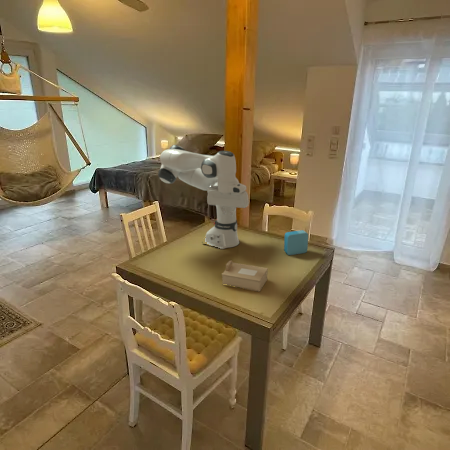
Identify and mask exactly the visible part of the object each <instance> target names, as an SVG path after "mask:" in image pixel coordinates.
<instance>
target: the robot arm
mask: <svg viewBox="0 0 450 450" xmlns="http://www.w3.org/2000/svg"><path fill="white" fill-rule="evenodd" d="M159 161H160V163H161V165H160V168H159V170H158V173H157V176H158V179H160V180H161V182H163V183H165V184H174V183H175V182H176V180H177V178H178V179H179V180H180V181H182V182H183V183H186V184H187V185H189V186H192V187H194V188H197V189H199V190H202V191H207V198H206V200H207V201H206V202H207V204H208V205H209V206H215V207H216V219H215V221H214V222H213V225H214V226H212V227H211V228H210V229H209V230H207V232H206V233H205V237H206V238H205V237H204V238H205V242H207V244H209V245H211V246H215V247H218V248H217V249H219V248H220V249H219V250H224V249H227V248H234V247H237V246H238V245H239V244H240V240H239V234H238V220H237V208H239V209H241V208H243V209H245V208H248V207H249V205H250V200H249V195H248V192H247V191H246V190H247V186H246V185H245V184H243V183H240V181H239V179H238V178H237V177H236V176H237V175H236V173H237V164H236V163H237V162H236V157H235V154H234V153H233V152H231V151H228V150H219V151H218V152H217V153H216V154H214V155H211V154H201V153H197V152H191V151H187V150H185V149H184V147H182V146H180V145H178V144H177V145H176V144H173V145H171V146H170V147H169V148H168V149H165V150H163V151H162V152H161V154H160V156H159ZM211 246H210V247H211ZM215 247H214V248H215Z"/></svg>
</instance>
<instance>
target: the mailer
mask: <svg viewBox="0 0 450 450" xmlns="http://www.w3.org/2000/svg"><path fill="white" fill-rule="evenodd" d="M221 277H222V279H221V280H222V285H223V284H227V285H231V286H235V287H234V288H237V287H240V288H239V289H242V288H244V289H243V290H247V289H248V291H254V292H258V293H260V292H261V290H262V289H263V287H264V285H265V284H266V282H267V281H268V270H267V271H266V273H265V275H264V276H263V278H262V279H261V281H260V282H258V281H252V280H247V279H241V278H235V277H230V276H224V275H222V274H221ZM231 286H230V287H231Z"/></svg>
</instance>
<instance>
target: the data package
mask: <svg viewBox="0 0 450 450" xmlns="http://www.w3.org/2000/svg"><path fill="white" fill-rule="evenodd" d="M283 240H284V244H283V245H284V246H283V247H284V248H283V251H284V253H286V254H287V255H288V256H295V255H300V254H305V253H307V252H308V246H309V245H308V244H309V233H307V231H305V230H303V229H302V230H300V229H299V230H294V231H287V232H285V233H284V239H283Z"/></svg>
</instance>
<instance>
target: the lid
mask: <svg viewBox="0 0 450 450" xmlns="http://www.w3.org/2000/svg"><path fill="white" fill-rule="evenodd" d="M268 270H269V268H268V267H262V266H257V265H252V264H243V263H237V262H233V260H229V261H228V262H227V263H225V270H224V271H223V272H222V273H221V276H222V275H224V276H230V277H235V278H241V279H247V280H252V281H258V282H260V281H261V279H262V278H263V276H264V275H265V273H266V271H267V272H268Z"/></svg>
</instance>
